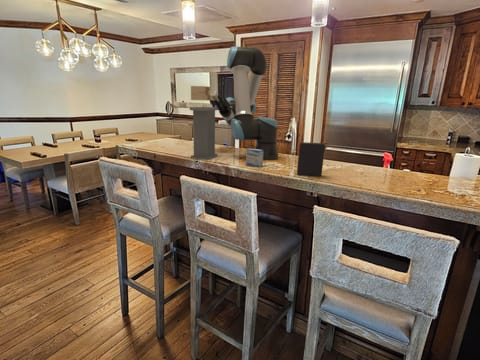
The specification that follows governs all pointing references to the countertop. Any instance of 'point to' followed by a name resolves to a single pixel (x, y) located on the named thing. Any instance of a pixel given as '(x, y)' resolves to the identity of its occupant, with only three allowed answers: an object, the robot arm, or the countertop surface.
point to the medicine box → (254, 157)
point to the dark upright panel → (310, 159)
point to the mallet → (201, 93)
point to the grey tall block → (204, 132)
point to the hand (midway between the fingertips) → (212, 92)
